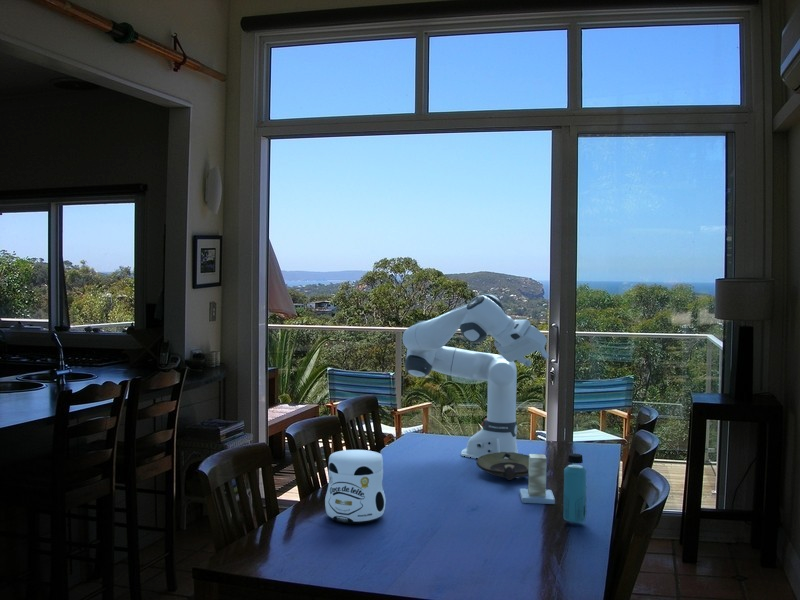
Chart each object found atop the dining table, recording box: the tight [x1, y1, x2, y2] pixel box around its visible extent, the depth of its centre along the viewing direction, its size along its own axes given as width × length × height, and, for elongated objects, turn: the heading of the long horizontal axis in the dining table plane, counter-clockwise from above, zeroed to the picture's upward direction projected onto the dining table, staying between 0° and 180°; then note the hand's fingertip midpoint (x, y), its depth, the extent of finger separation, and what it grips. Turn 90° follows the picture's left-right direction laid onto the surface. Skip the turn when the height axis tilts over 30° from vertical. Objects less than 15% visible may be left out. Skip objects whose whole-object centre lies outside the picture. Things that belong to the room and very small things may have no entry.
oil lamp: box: [476, 452, 529, 481], centre depth 253 cm, size 22×30×8 cm
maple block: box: [527, 453, 547, 497], centre depth 228 cm, size 5×5×12 cm
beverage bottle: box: [562, 452, 588, 524], centre depth 204 cm, size 6×7×20 cm
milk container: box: [324, 449, 387, 525], centre depth 206 cm, size 17×17×18 cm
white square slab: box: [519, 488, 556, 505], centre depth 228 cm, size 10×10×2 cm
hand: (538, 361), depth 239 cm, fingers open, 8 cm apart
